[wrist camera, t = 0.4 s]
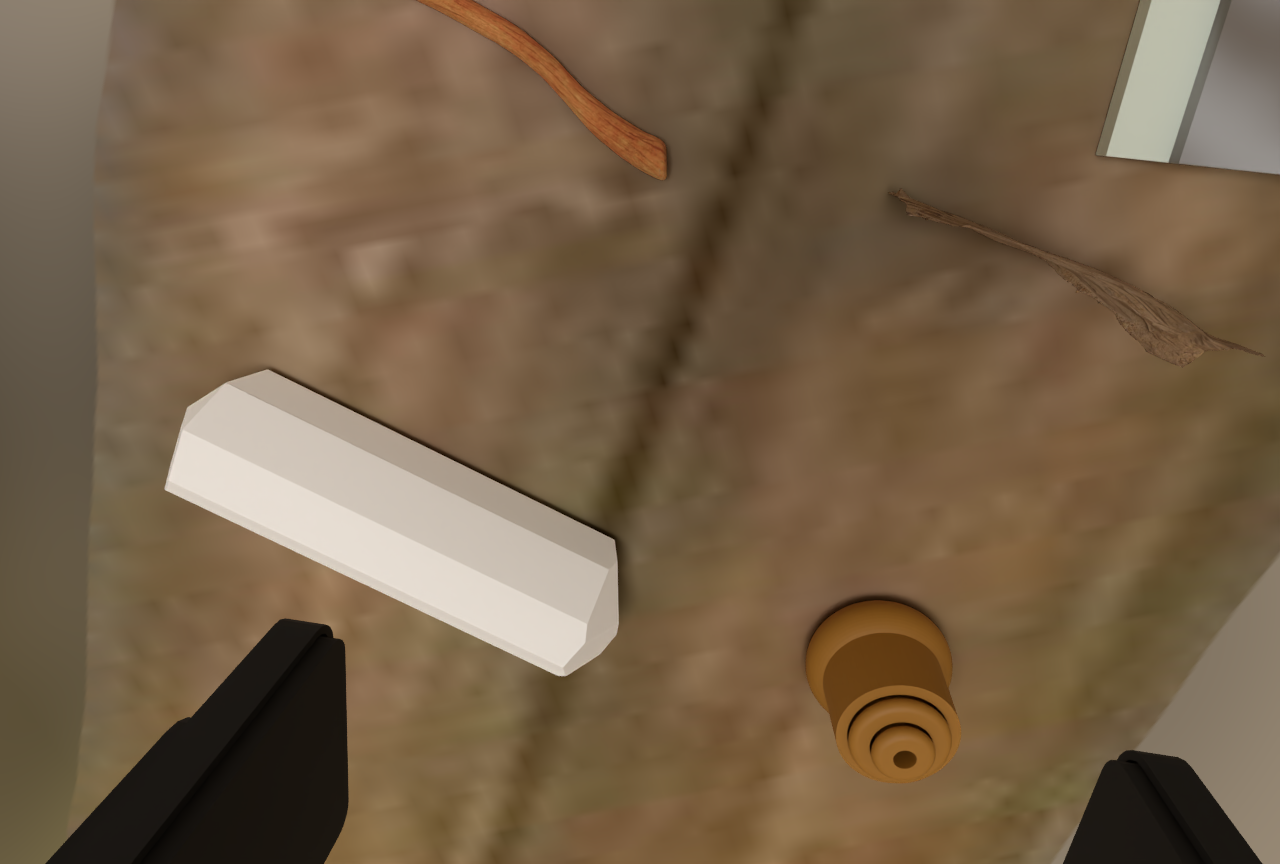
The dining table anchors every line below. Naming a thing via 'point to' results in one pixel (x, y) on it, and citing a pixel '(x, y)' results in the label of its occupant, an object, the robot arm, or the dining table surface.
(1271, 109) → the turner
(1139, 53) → the board
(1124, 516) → the dining table surface
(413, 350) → the dining table surface
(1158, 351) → the wood plank
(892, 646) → the ornamental finial
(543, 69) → the axe
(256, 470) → the crystal
